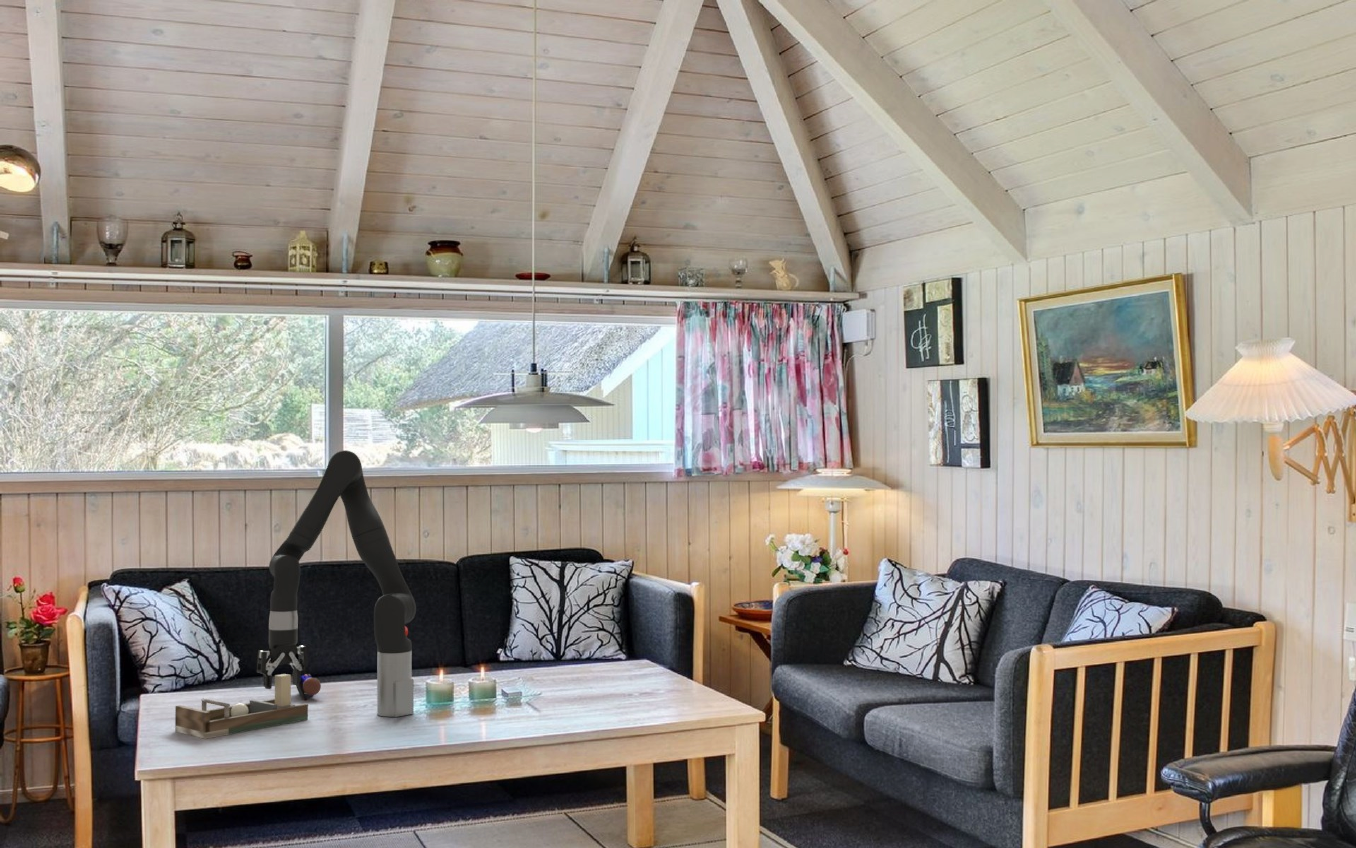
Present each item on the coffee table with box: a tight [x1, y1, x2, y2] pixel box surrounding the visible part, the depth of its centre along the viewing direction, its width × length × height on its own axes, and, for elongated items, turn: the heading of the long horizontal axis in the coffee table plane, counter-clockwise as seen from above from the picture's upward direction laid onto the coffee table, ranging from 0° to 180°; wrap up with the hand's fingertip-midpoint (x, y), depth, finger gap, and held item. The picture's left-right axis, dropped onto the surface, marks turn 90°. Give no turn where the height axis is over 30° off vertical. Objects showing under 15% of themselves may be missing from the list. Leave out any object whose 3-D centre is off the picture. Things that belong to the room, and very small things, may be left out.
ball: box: [231, 702, 248, 717], centre depth 326 cm, size 4×4×4 cm
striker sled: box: [249, 673, 296, 713], centre depth 335 cm, size 11×9×10 cm
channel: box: [174, 698, 309, 740], centre depth 327 cm, size 14×30×8 cm, turn 141°
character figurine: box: [291, 668, 322, 701], centre depth 367 cm, size 8×7×15 cm
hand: (282, 686), depth 337 cm, fingers open, 8 cm apart
